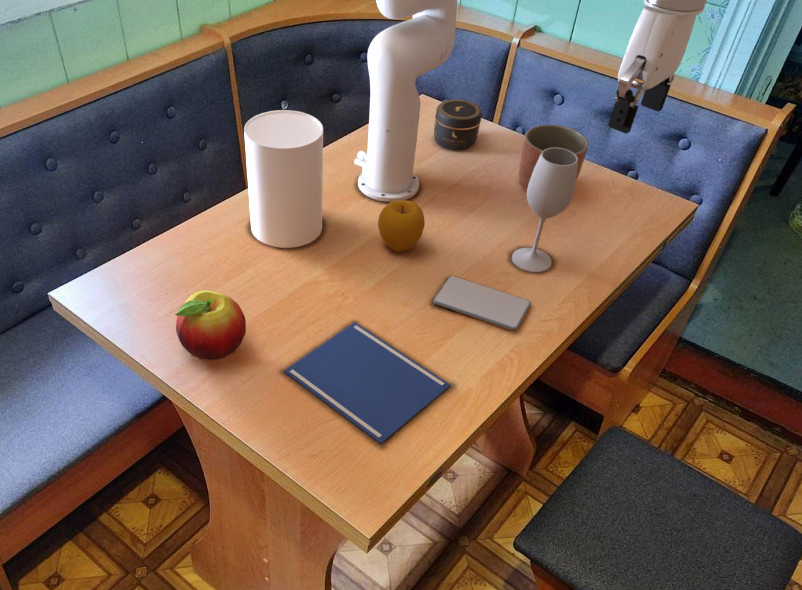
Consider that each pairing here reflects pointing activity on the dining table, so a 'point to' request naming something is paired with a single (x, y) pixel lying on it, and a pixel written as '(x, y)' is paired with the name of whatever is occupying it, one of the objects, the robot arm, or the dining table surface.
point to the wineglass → (547, 200)
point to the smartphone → (482, 302)
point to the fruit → (210, 325)
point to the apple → (401, 224)
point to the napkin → (367, 381)
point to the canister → (285, 177)
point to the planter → (549, 138)
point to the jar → (457, 124)
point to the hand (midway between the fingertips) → (635, 118)
